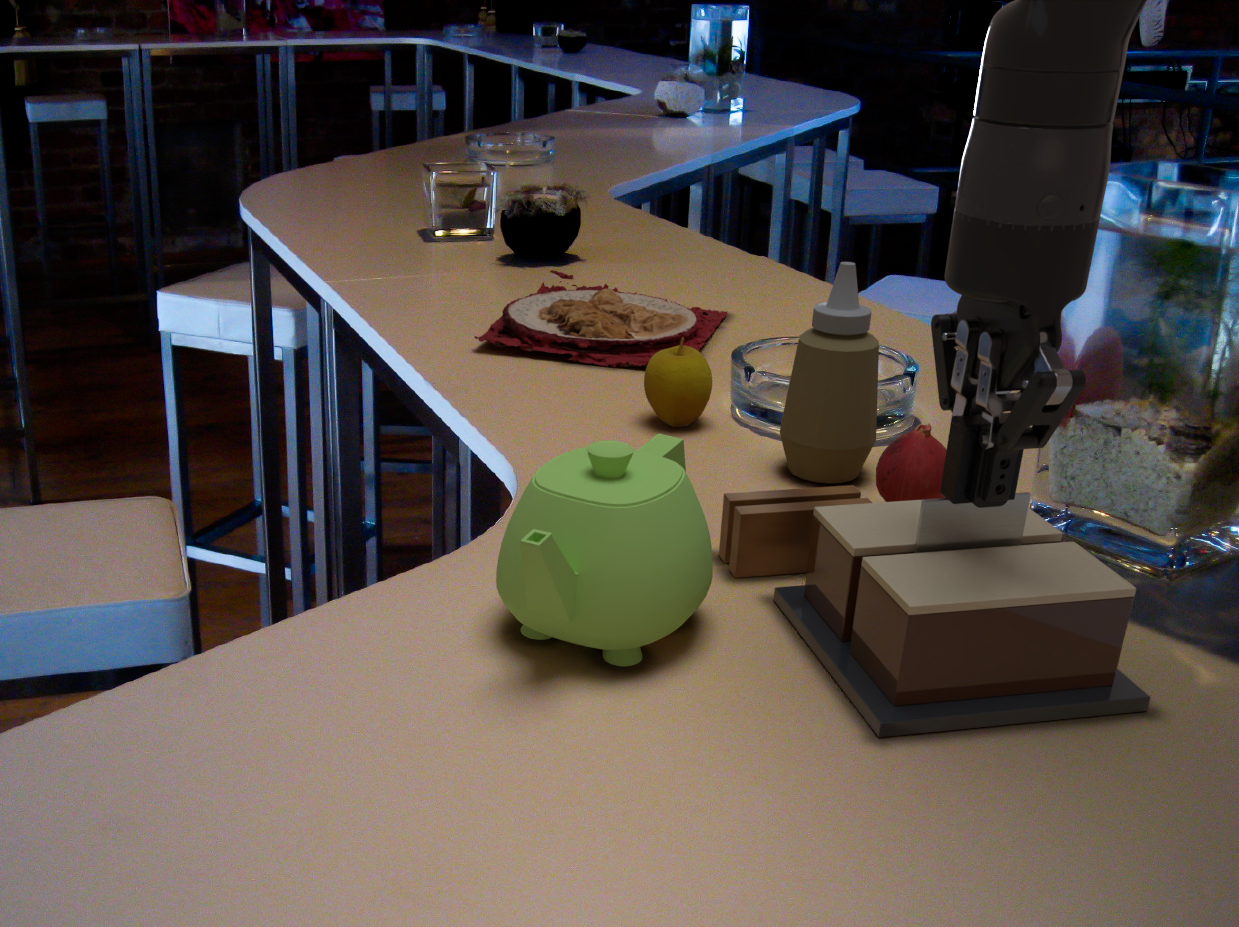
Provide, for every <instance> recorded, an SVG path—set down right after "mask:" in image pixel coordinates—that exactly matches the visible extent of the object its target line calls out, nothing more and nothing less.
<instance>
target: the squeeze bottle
mask: <svg viewBox="0 0 1239 927" xmlns="http://www.w3.org/2000/svg"><path fill="white" fill-rule="evenodd" d="M871 321H872V308H870V307H868V306H867V305H863V304H860V299H859V288H858V278H857V266H856V263H855V262H852V261H841V262H840V263H839V266H838V269H837V272H836V275H835V278H834V281H833V284H832V287H831V289H830V293H829V296H828V298H827V301H824V302H818V303H817V304H815V305H813V310H812V319H811V327H810V328H808V329H807V330H805V331H803V332H801V334H799V336H798V340H797V345H796V351H795V355H794V359H793V364H792V369H791V373H790V379H789V383H788V388H787V393H786V398H785V402H784V407H783V413H782V417H781V421H780V425H779V435H780V439H781V443H782V447H783V448H782V449H783V452H784V457H785V460H786V464H787V468H788V471H789V472H790V473H791V474H792V475H793V476H796V477H798V478H800V479H802V480H805V481H808V482H813V483H819V484H843V483H846V482H851V481H853V480H855V479H856V478H857V477H858V476H859V474H860V472H861V471H862V469H863V466H864V465H865V463H866V461H867V459H868V457H869V455H870V453H871V452H872V449H873V447H874V445H875V443H876V442H877V423H878V417H877V416H878V392H879V391H878V390H879V389H878V388H879V357H880V356H879V355H880V340H878V338H877V337H876V336H874V335H873V334H872V333H870V332H869V331H870V327H871Z"/></svg>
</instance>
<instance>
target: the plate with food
mask: <svg viewBox="0 0 1239 927" xmlns="http://www.w3.org/2000/svg"><path fill="white" fill-rule="evenodd" d="M549 272H550V273H551V274H554V275H557V276H558V277H559V278H560V279H563V280H574V279H575V278H574V274H569V275H568V273H564V272H560V271H557V270H554V269H551V270H549ZM559 283H562V280H560V281H559ZM568 284H569V282H566V285H568ZM571 287H576V288H575V289H567V288H566V287H565V286H564V285H561V286H560V285H554V284H553V285H551V286H550V287H549V286H548V285H545V282H544V281H543V282H542V283H541V285H540V286H539V288H538V289H537V291H536V292H534V293H529V295H526V296H525V297H518V298H517V299H514V300H513V301H512V300H511V301H510V302H509V303H507V304H506V306H504V307H503V309H502V312H501V313H502V315H501V316H500V317H498V319H496V320H495V321H494V322H493V323H491V324H490V326H489V328H488V329H487V331H486V332H484V333H483V334H482V335H481V336H476V335H474V339H475V340H478V341H479V342H484V341H486V343H488V344H491V346H494V347H498V348H499V347H500V348H501V347H512V346H513V347H516V348H517V347H519V349H520V350H523V351H525V352H537V353H538V352H545V353H547V354H548V353H550V354H559V355H561V354H562V355H566V354H567V355H572V356H571V357H569V358H567V360H568V361H573V362H580V363H584V364H590V365H591V364H592V365H597V366H598V365H599V366H606V367H613V368H617V367H618V366H620V367H626V368H627V367H629V368H630V367H637V368H640V367H642V366H643V367H645V368H646V367H647V365H648V363H649V360H650V359H651V358H652V356H653V355H655V354H656V353H657V352H659V351H661V350H664V349H668V348H672V347H675V346H680V342H681V339H682V337H683V338H684V342H683V344H682V346H688V347H691V348H693V349H695V350H697V351H698V352H699V353H700V351H701V348H703V347H704V345H705V344H706V341H707V339H708V338H710V337H711V335H712V334H713V333H714V332H715V331H716V328H717V327H718V326H720V323H721V322H722V320H724V319H725V318H726V316H727V314H728V310H727V311H724V310H721V311H719V310H714V309H713V310H711V309H702V308H701V307H700V306H692V307H690V308H689V307H686V306H685V305H682V304H681V303H677V302H675V301H674V302H673V301H672V300H671V301H670V300H669V301H668V299H667V298H661V297H657V296H652V295H647V294H643V293H638V292H633V293H632V292H630V291H629V292H625V291H624V292H623V291H619V289H618V288H617V287H614V288H609V285H608V284H606V283H604V285H603V286H602V285H597V286H595V285H594V286H587V285H584V284H583V285H582V286H578V285H577V284H571Z"/></svg>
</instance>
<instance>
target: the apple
mask: <svg viewBox="0 0 1239 927" xmlns="http://www.w3.org/2000/svg"><path fill="white" fill-rule="evenodd" d="M683 342H684V338H683V337H682V339H681V342H680V346H675V347H672V348H668V349H664V350H661V351H659V352H657V353H656V354H655V355H653V356H652V358H651V359H650V360H649V363H648V365H647V367H645V371H644V376H643V389H644V393H645V396H646V400H647V402H648V403H649V405H650V407H651V408H652V410H653V412H654V413H655V415H656V417H658V418H659V419H660V420H661V421H663V422H664V423H665V424H667V425H669V426H670V427H672V428H680V427H686V426H689V425H690V424H692V423H693V422H696V421H697V420H698V419H699V418H700V417H701V416H702V414H703V413H704V411H705V409H706V407H707V405H708V403H709V400H710V398H711V394H712V391H713V373H712V369H711V367H710V365H709V363H708V360H707V359H706V357H705V356H704V355H703V354H701V352H700V351H699V352H698V351H697V350H695V349H693V348H691V347H688V346H682V344H683Z"/></svg>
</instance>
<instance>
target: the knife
mask: <svg viewBox="0 0 1239 927" xmlns="http://www.w3.org/2000/svg"><path fill="white" fill-rule="evenodd" d="M1009 413H1010V412H1003V413H1002V414H1001V416H1000V422H999V428H1001V426H1002V425H1003V423H1004V422H1005V420H1006V418H1007V417H1008V415H1009ZM981 417H982V414H978V415H962V416H952V415H951V419H950V425H949V431H948V438H947V445H946V456H945V463H944V469H943V475H942V482H941V488H940V493H941V494H942V495H943V496H944V497H945V498H940V499H927V500H922V503H921V509H920V516H919V522H918V529H917V535H916V542H915V549H914V553H925V552H939V551H952V550H966V549H979V548H993V547H1006V546H1020V545H1021V543H1022V537H1023V532H1024V527H1025V522H1026V517H1027V511H1028V508H1029V506H1030V500H1031V494H1032V493H1031V492H1029V491H1023V492H1017V487H1018V483H1019V477H1020V471H1021V466H1022V461H1023V454H1024V451H1025V449H1021V450H1020V451H1019V453H1018V455H1017V460H1016V466H1015V471H1014V476H1013V478H1012V479H1013V482H1012V484H1011V485H1012V487H1011V493H1010V495H1009V499H1008V501H1007V503H1006V504H1004V505H1003V506H999V507H985V508H978V507H976V506H975V505H974V504H973V503H971V502H970V500H969V494H970V488H971V482H972V476H973V470H974V465H975V459H976V453H977V447H978V446H980V444H979V432H980V425H981Z"/></svg>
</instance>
